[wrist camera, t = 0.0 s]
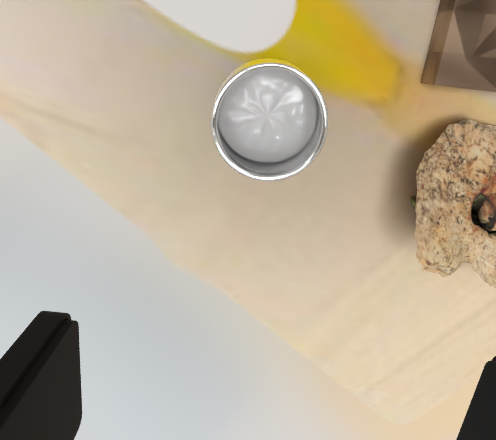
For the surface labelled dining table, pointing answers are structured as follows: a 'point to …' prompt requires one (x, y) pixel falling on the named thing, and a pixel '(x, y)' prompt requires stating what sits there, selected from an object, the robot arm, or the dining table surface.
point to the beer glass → (269, 120)
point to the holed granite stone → (458, 201)
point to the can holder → (463, 46)
